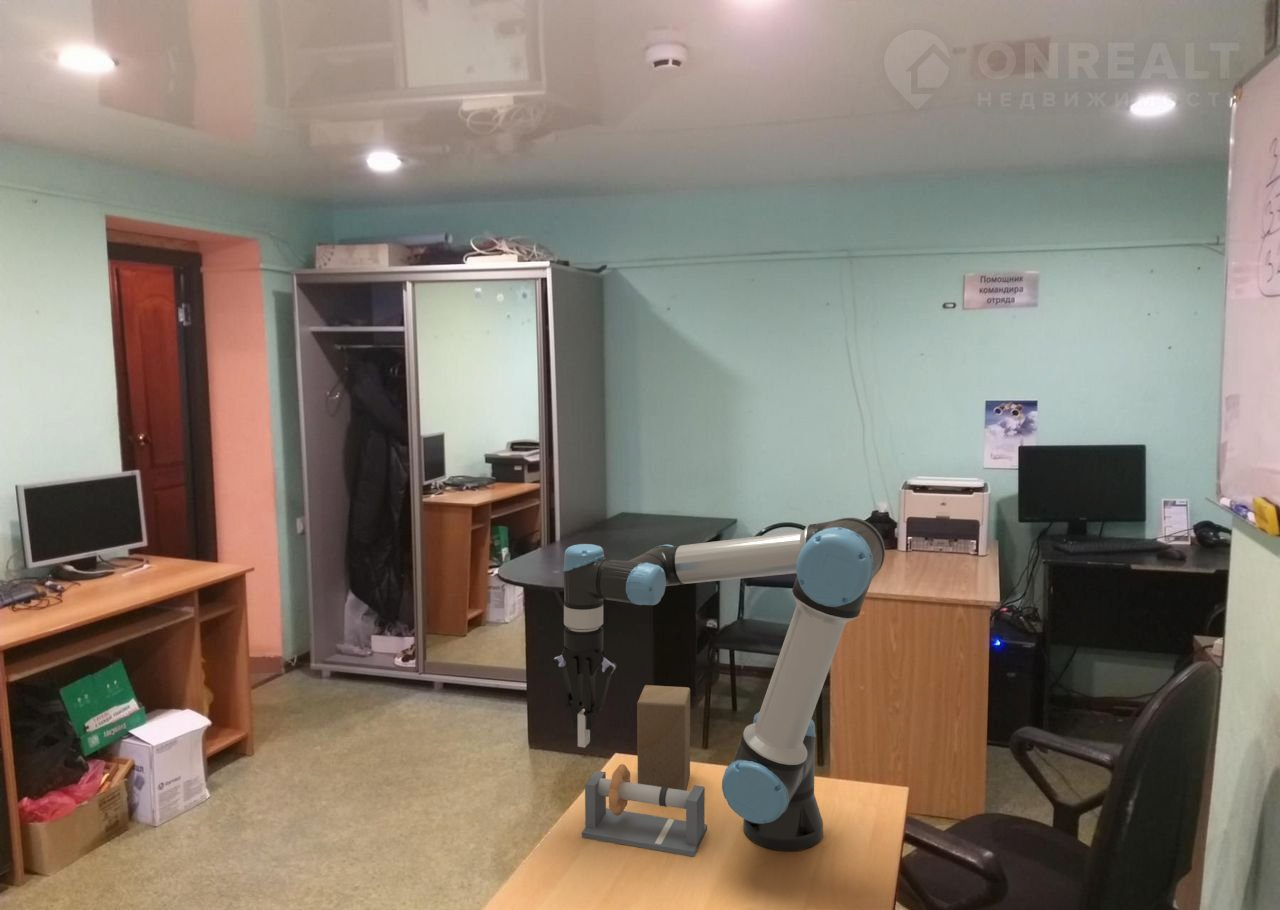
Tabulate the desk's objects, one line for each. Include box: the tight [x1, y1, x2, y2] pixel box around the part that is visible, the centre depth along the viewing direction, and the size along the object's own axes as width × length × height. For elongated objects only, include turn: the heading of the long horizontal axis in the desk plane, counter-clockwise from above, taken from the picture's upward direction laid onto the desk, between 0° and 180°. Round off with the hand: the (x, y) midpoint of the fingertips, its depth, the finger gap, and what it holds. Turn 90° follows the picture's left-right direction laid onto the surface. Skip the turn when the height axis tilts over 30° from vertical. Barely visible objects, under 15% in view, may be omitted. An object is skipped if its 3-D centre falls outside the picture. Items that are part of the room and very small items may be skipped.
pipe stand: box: [581, 770, 708, 858], centre depth 171 cm, size 22×10×10 cm, turn 72°
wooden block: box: [636, 684, 691, 791], centre depth 190 cm, size 10×10×20 cm
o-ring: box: [608, 763, 631, 816], centre depth 172 cm, size 2×9×9 cm, turn 162°
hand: (583, 744), depth 174 cm, fingers closed
